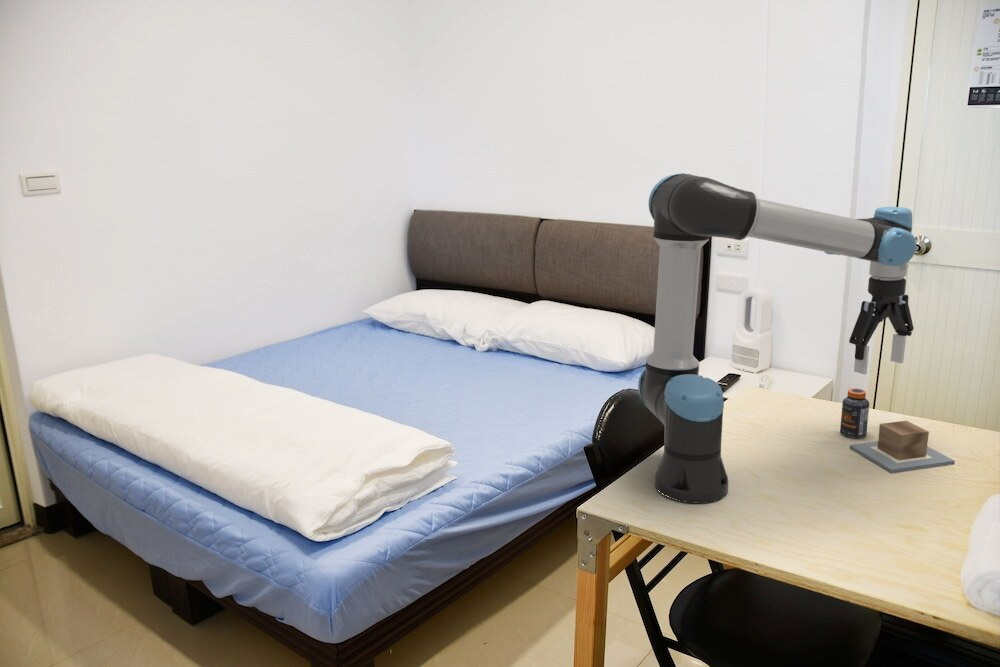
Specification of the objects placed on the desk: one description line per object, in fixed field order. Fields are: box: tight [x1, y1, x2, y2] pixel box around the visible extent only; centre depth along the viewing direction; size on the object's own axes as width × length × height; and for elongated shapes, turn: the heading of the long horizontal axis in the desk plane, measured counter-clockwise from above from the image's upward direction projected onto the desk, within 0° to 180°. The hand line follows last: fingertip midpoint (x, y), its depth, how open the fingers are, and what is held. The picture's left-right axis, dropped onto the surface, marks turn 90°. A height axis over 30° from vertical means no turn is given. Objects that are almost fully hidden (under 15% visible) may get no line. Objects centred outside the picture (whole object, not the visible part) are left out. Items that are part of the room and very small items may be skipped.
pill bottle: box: [839, 387, 870, 439], centre depth 188 cm, size 6×6×11 cm
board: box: [849, 440, 955, 474], centre depth 177 cm, size 16×14×1 cm
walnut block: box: [877, 420, 930, 460], centre depth 176 cm, size 7×7×6 cm
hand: (878, 367), depth 180 cm, fingers open, 13 cm apart
